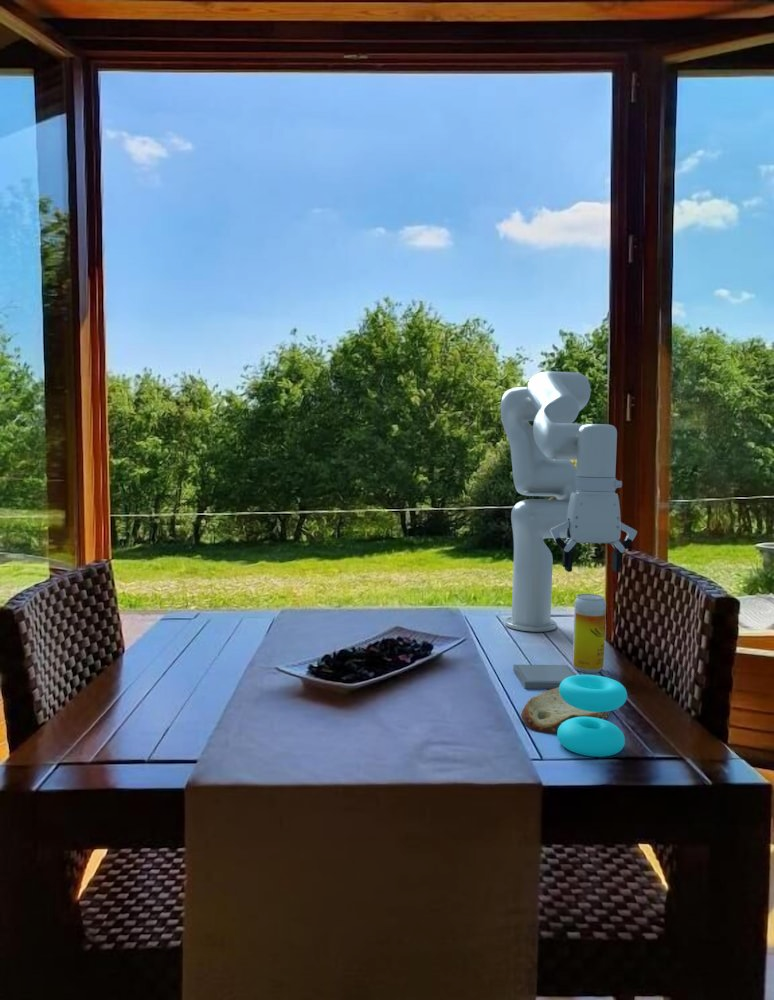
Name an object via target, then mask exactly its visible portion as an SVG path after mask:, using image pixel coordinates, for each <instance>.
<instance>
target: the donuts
mask: <svg viewBox="0 0 774 1000" xmlns="http://www.w3.org/2000/svg"><path fill="white" fill-rule="evenodd" d="M559 693H560V695H561V697H562V699H563V700H564V701H565V702H566V703H568V704H569V705H571V706H573V707H575V708H578V709H581V710H585V711H591V712H608V711H609V712H612V711H615V710H617V709H620V708H621V707H622V706H623V705H624V704H625V703H626V702H627V699H628V692H627V688H626V687H625V686H624V685H623V684H622V683H621V682H620V681H618V680H616V679H613V678H610V677H607V676H603V675H602V676H601V675H597V674H596V675H595V674H576V675H574V676H570V677H567V678H565V679H564V680H563V681H562V682H561V683H560V686H559ZM556 736H557V740H558V742H559V743H560V745H561V746H563V747H564V748H565V749H567V750H568V751H570V752H571V753H572V752H573V753H576V754H578V755H581V756H587V757H593V758H594V757H597V758H598V757H599V758H601V757H603V758H604V757H610V756H613V755H616V754H618V753H620V752H621V751H622V750H623V749H624V747H625V744H626V738H625V735H624V733H623V731H622V730H621V729H620V728H619V726H617V725H616V724H614V723H613V722H611V721H609V720H606V719H605V720H603V719H600V718H595V717H575V718H571V719H568V720H566V721H564V722H563V723H562V724H561V725H560V726H559V728H558V731H557V734H556Z"/></svg>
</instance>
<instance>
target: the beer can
mask: <svg viewBox="0 0 774 1000" xmlns="http://www.w3.org/2000/svg"><path fill="white" fill-rule="evenodd" d="M606 610H607V602H606V599H605V597H604V596H602V595H599V594H594V593H580V594H577V596H576V598H575V600H574V614H573V616H574V617H573V618H574V620H573V635H572V636H573V637H572V638H573V641H572V662H571V664H572V666H573V667H574V669H575V671H578V672H581V673H589V674H595V673H600V672H601V670H602V669H603V668H604V656H605V655H604V653H605V652H604V651H605V636H606V634H605V633H606V630H605V629H606V614H607V613H606V612H607V611H606Z"/></svg>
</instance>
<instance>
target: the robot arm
mask: <svg viewBox="0 0 774 1000" xmlns="http://www.w3.org/2000/svg"><path fill="white" fill-rule="evenodd" d="M591 391H592V390H591V385H590V381H589V380H588V378H587V377H586V376H585V375H584V374H583V373H580V372H576V371H575V372H572V371H549V370H548V371H541V372H538V373H536V374H534V375H533V376H532V377H531V378H530V379H529V380H528V383H527V386H519V387H518V386H517V387H513V388H509V389H508V390H506V391H505V392H504V393H503V394H502V397H501V401H500V417H501V418H500V419H501V422H502V426H503V430H504V432H505V435H506V436H507V439H508V443H509V449H510V457H511V466H512V467H511V468H512V476H513V477H512V478H513V484H514V485H513V486H514V488H515V490H516V493H518V494H520V495H522V496H527V497H528V496H530V497H555V498H556V499H547V498H543V499H541V498H539V499H538V498H534V499H532V498H530V499H523V500H519V501H518V502H516V503H515V505H513V507H512V509H511V512H510V513H511V515H510V519H511V529H512V537H513V567H512V593H511V594H512V595H511V596H512V597H511V598H512V599H511V601H512V602H511V616H509V617H507V618H505V622H504V624H505V626H507V627H508V628H510V629H514V630H516V631H523V632H530V633H531V632H535V633H536V632H539V633H540V632H541V633H542V632H550V631H553V630H556V629H557V625H558V623H557V621H555V620H554V619H552V618H551V616H552V614H551V613H552V594H553V593H552V589H553V569H554V568H553V567H554V566H553V565H554V563H553V562H554V561H553V559H554V558H553V553H552V551H551V550H550V548H549V547H548V546H547V544H546V542H545V541H544V540H545V539H553V540H554V541H553V542H555V544H556V545H557V546H558V547H559V548H560V549H561V550H562V561H561V562H562V566H561V567H563V568H564V571H566V572H568V573H569V572H571V573H572V571H573V554H574V553H573V552H572V549H573V548H574V547H575V545H576V544H577V543H579V544H580V543H581V544H610V545H611V546H612V547H613V548H614V550H613V551H612V552H611V570H612V571H613V572H615V573H620V572H621V569H622V568H623V560H624V559H623V558H624V557H623V556H624V553H625V552H626V550H627V549H628V548H629V547H630V546H632V544H633V541H634V539H635V538H636V536H637V534H638V530H636V529H635V528H633V527H630V526H629V525H626V524H625V523H623V522H622V521H621V520H622V519H621V507H620V498H619V495H618V493H616V490H617V489H618V488H622V486H623V481H622V480H618V479H617V477H616V470H617V469H616V467H617V466H616V465H617V442H618V440H617V439H618V431H617V427H616V426H614V425H612V424H606V423H603V424H601V423H574V422H575V421H576V419H577V418H578V415H579V413H580V411H582V410H583V409H584V408H585V407H586V405H588V402H589V401H590V398H591ZM530 422H533V425H532V424H530ZM571 460H572V461H573V460H575V461H576V465H575V463H573V462H572V461H571ZM622 531H623V532H625V533H626V536H625V538H623V539H622V541H620V539H621V535H622V534H621V532H622ZM563 539H566V540H565V541H564V540H563Z"/></svg>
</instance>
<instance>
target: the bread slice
mask: <svg viewBox="0 0 774 1000" xmlns="http://www.w3.org/2000/svg"><path fill="white" fill-rule="evenodd" d="M608 713H609V714H610V711H608V712H591V711H585V710H581V709H578V708H575V707H573V706H571V705H569V704H568V703H566V702H565V701H564V700H563V699H562V697H561V695H560V693H559V687H557V688H554V689H548V690H546V691H545V692H544V691H543V692H542V693H539V694H537V695H535V696H532V697H531V698H529V700H528V701H527V702H526V704H525V705H524V707H523V709H522V711H521V714H520V717H521V719H522V721H523V723H524V725H526V727H528V728H529V730H530V731H533V732H537V733H543V734H548V735H557V731H558V728H559V726H560V725H561V724H562V723H563V722H564V721H566V720H568V719H571V718H575V717H595V718H600V719H603V720H606V719H607V717H606V716H607V715H608V716H609V714H608Z"/></svg>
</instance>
